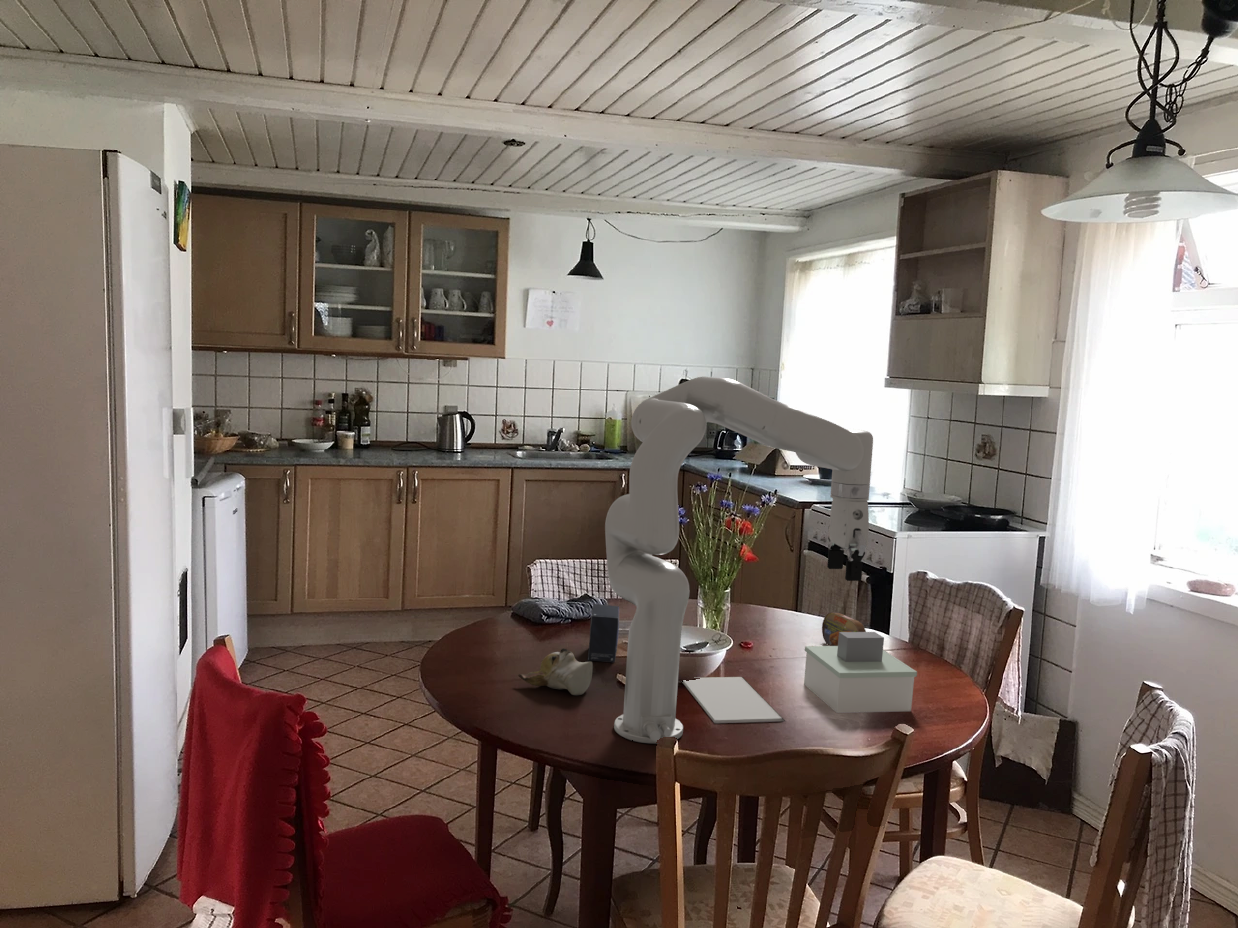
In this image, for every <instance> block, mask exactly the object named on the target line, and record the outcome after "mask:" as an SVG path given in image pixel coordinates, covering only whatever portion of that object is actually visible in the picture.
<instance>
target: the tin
mask: <svg viewBox="0 0 1238 928" xmlns="http://www.w3.org/2000/svg"><path fill="white" fill-rule="evenodd" d="M821 624H822V625H821V634H822V637H823V640H824V642H825V643H826V646H838V639H839V632H867V631H866V628H865V626H864V624H863V623H862V622H861V621H859V620H857V619H855V618H853V617H849V616H847V615H845V614H842V613H840V612H832V611H831V612H828V613H827V614H826V615H825V616H824V618H823V620H822V623H821Z"/></svg>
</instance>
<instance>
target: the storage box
mask: <svg viewBox="0 0 1238 928" xmlns="http://www.w3.org/2000/svg"><path fill="white" fill-rule="evenodd" d="M803 679H804V680H803V685H804V686H805V687H806V688H807V689H808V690H809V691H811V692H812V693H813V694H814V695H816V696H817V697H818V698H819V699H820V700H821V701H822V702H824V703H825V704H826V705H827V706H828V707H829V708H830V709H831V710H833V712H835V713H836V714H851V713H852V714H853V713H855V714H857V713H859V714H860V713H862V714H863V713H889V712H890V713H891V712H893V713H894V712H895V713H896V712H898V713H899V712H900V713H901V712H912V706H913V705H912V704H913V693H914V684H915V677H865V678H839V677H837V676H836V675H835V674H834V673H832V672H831V671H830V670H829V669H827V668H826V667H825V666H823V665H822V664H821V663H820V662H818V661H817V660H816V659H815V658H813V657H812V656H811V655H809V654H808V653H807V652H806V655H805V668H804V678H803Z"/></svg>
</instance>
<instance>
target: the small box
mask: <svg viewBox="0 0 1238 928" xmlns="http://www.w3.org/2000/svg"><path fill="white" fill-rule="evenodd" d="M589 626H590V628H589V642H588V644H589V645H588V654H587V662H603V663H604V662H605V663H615V662H616V656H617V650H618V645H619V644H618V643H619V641H618V640H619V630H620V605H619V606H617V605H609V604H599V603H593V605H592V609H591V615H590V625H589Z"/></svg>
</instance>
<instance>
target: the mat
mask: <svg viewBox="0 0 1238 928" xmlns="http://www.w3.org/2000/svg"><path fill="white" fill-rule="evenodd" d="M699 678H700V679H696V680H689V681H686V680H683V682H682V684H683V685H684V687H685V688H686V689H687V690H688V691H689V693H690V694H691V695H692V696H693V698H694V699H695V700H696V702H698V704H699V705H700V706H701V708H702V709H703V710H704V712H705V714H707V715H708V717H709V718H710V719H711V720H712V722H713V724H728V723H729V724H734V723H735V724H737V723H741V724H742V723H769V722H770V723H771V722H772V723H773V722H786V720H785V719H784V717H782V715H780V714H779V713H778V712H777V711H776V709H775V708H774V707H773V706H771V705H770V704H769V703H768V702H767V700H766V699H764V698H763V696H761V695H760V693H759V692H758V691H757V690H756V689H755V688H754V687H753V686H752V685H751V684H750V683H749V682H748V681H747V680H746V679H745V678H744V677H742V676H726V677H725V676H724V677H723V676H722V677H721V676H720V677H717V676H715V677H709V676H707V677H699Z"/></svg>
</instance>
